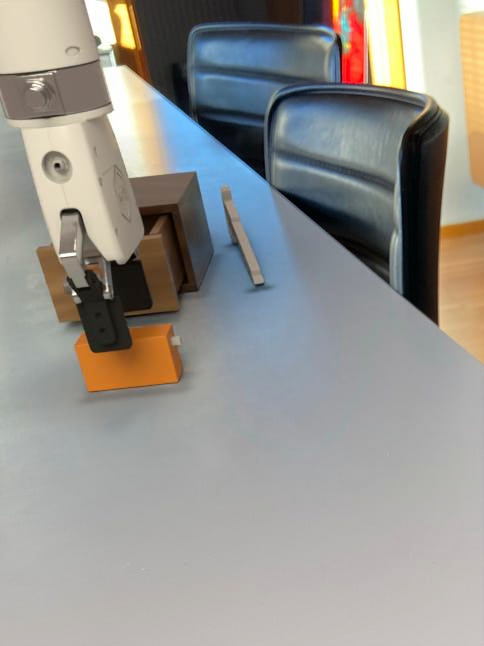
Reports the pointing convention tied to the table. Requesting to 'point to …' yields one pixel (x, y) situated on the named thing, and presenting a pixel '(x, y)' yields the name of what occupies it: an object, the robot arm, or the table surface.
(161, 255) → the drawer
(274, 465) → the table surface
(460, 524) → the table surface
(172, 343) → the orange brick with nub
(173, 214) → the cabinet
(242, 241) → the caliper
